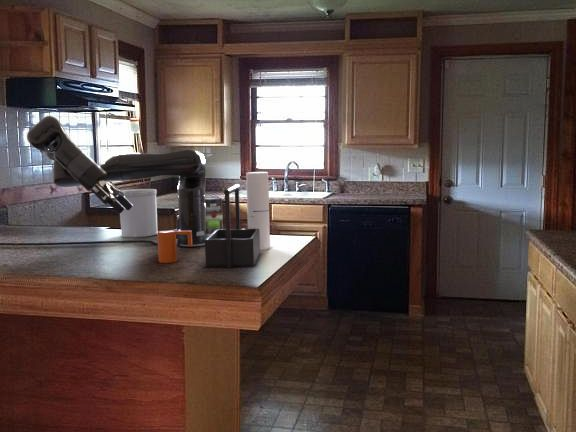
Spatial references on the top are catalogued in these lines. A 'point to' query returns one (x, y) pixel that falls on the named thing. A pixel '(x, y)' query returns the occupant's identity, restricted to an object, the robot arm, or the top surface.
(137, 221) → the utensil holder
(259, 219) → the cylindrical container
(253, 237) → the basket
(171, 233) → the measuring cup
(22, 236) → the top surface
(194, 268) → the top surface
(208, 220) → the coffee can
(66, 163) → the robot arm
